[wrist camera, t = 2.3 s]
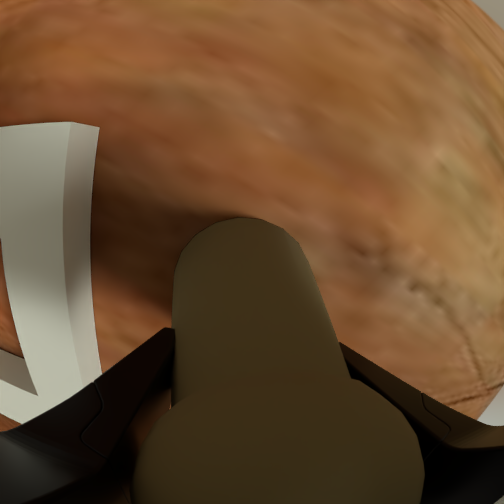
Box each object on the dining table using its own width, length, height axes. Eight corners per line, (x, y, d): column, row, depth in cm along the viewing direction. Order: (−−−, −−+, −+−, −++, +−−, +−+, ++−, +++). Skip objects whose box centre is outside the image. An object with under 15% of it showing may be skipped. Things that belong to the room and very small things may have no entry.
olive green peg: (285, 195, 11) (549, 392, 1) (324, 315, 13) (441, 522, 3) (149, 250, 12) (4, 508, 1) (208, 357, 14) (209, 583, 3)
